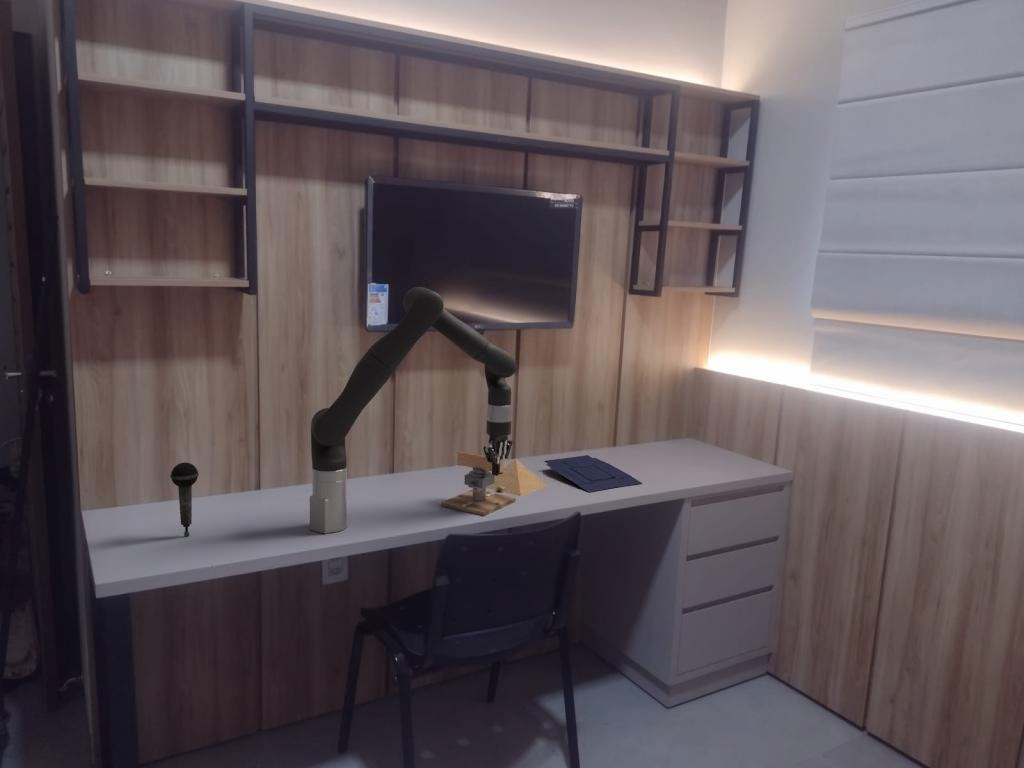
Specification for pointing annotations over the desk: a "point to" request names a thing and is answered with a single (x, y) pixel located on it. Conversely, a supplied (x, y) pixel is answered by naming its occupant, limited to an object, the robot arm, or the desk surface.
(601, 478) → the dark blue flat panel
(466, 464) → the lever handle
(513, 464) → the model pyramid
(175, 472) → the microphone
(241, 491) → the desk surface
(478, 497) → the post base
